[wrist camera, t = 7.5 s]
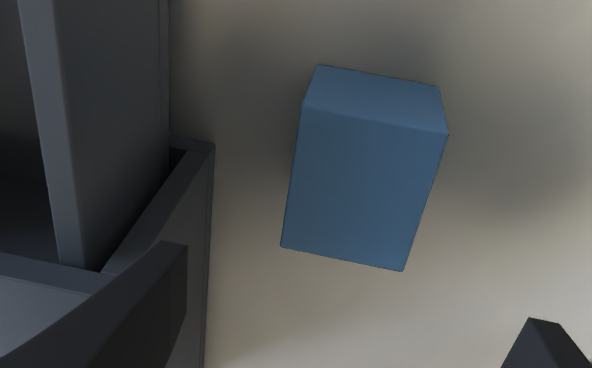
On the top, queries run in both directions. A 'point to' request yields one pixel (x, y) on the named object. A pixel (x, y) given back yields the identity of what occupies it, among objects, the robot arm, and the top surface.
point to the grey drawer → (80, 124)
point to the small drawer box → (124, 260)
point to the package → (362, 166)
